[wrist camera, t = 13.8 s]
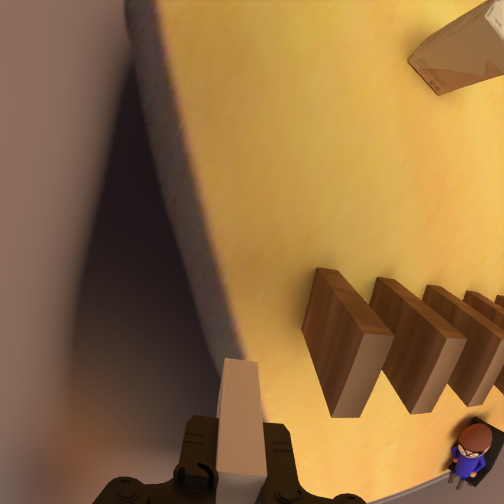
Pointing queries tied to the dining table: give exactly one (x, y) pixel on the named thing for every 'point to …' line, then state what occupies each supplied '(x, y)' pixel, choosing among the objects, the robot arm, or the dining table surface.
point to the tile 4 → (494, 314)
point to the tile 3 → (470, 346)
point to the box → (464, 50)
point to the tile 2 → (416, 346)
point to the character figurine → (475, 452)
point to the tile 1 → (344, 343)
